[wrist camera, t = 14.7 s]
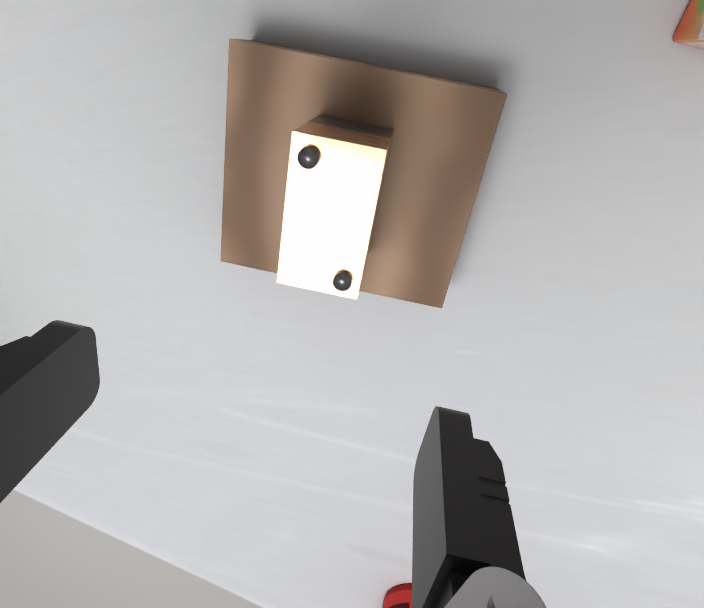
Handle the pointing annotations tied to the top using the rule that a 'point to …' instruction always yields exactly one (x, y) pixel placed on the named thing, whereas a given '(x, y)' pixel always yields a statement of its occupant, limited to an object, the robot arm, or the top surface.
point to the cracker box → (692, 25)
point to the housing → (332, 203)
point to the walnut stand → (401, 172)
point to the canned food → (399, 597)
